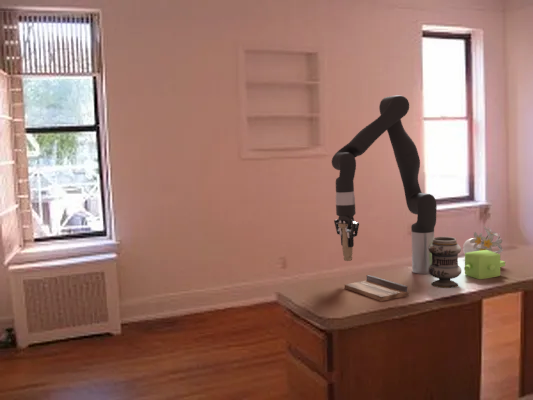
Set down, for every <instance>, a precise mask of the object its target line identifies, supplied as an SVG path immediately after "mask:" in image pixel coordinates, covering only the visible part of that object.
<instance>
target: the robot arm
mask: <svg viewBox="0 0 533 400" xmlns="http://www.w3.org/2000/svg"><path fill="white" fill-rule="evenodd" d="M378 109H379V113H380V115H379V116H378V117H377V118H376V119H374V121H373V120H372V122H371V123H369V124H368V125H366V126H365V127H363V128H362V129H361V130H360V131H359V132H358V133H356V135H355V136H354V137H353V138H351V140H350V141H349V142H348V143H347V144H345V145H344V146H343V147H341V148H340V149H338V150H337V152H335V153H334V155H333V156H332V159H331V165H332V168H334V169H335V170H337V171H339V176H338V177H337V178H335V211H336V212H335V213H336V216H337V217H338V219H334V220H333V222H334V226H335V227H334V228H335V231H336V234H337V235H338V236H340V244H341V246H342V239H343V231H342V228H340V227H339V226H338V223H343V224H345V225H346V224H348V227H347V225H346V228H345V231H346V232H347V236H348V247H352V248H353V247H354V244H355V241H354V238H356V237H358V233H359V227H360V223H359V221H357V222H356V221H355V218H354V216H355V215H356V197H355V196H356V195H355V188H354V186H355V185H354V183H355V182H354V180H355V175H356V170H357V160H356V158H357V157H360V156H362V155H363V154H365V153H366V151H367V150H368V149H370V147H371V146H372V145H373V144H374V143H375V142H376V141H377V140H378V139H379V138H380V137H381V136H383V134H384V133H385V132H386V131H387V133H388V137H389V138H388V139H389V141H390V143H391V147H392V151H393V154H394V158H395V162H396V165H397V168H398V170H399V171H398V172H399V174H400V179H401V182H402V186H403V190H404V195H405V196H404V197H405V201H406V206H407V208H408V211H409V212H410V213H411V214H414V215H417V219H416V222H415V223H412V225H411V226H410V228H411V229H410V231H411V235H410V237H411V265H412V266H411V268H412V269H411V271H412V273H414V274H420V275H428V274H430V273H429V272H428V268H429V266H430V265H431V264H432V253H430V252H429V249H428V248H429V246H430V245H431V244H432V242H433V238H435V227H436V223H437V211H438V210H437V207H438V206H437V200H436V198H435V196H434V195H433V194H430V193H427V192H426V193H424V192H422V190H421V186H420V183H419V173H420V166H421V159H420V155H419V152H418V149H417V146H416V144H415V142H414V141H413V139H412V138H411V137H410V135H409V134H408V132H406V130H405V129H404V126H403V123H402V119H403V118H404V117H405V116H406V115H407V113H408V112H409V110H410V102H409V99H408V98H406V97H405V96H404V95H399V94H398V95H390V96H386V97H384V98H382V99H381V101H380V102H379V108H378ZM348 229H351V230H348ZM350 232H351V233H350Z"/></svg>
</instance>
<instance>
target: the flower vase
mask: <svg viewBox="0 0 533 400" xmlns="http://www.w3.org/2000/svg"><path fill="white" fill-rule="evenodd" d="M482 227H483V228H484V230H485V232H486V234H487V236H486V237H485V236H483V233H482V232H481V233H479V234H478V233H477V232H476V231H474V232H473V237H474V238H473V237H470V238H468V239H466V240H465V241H464V243H463V245H462V251H463V254H465V253H468V252H474V251H481V250H488V251H492V252H495V253H497V254H501V253H502V252H504V249H503V246H502V245H501V244H502V243H503V239H502V238H501V233H498V232H495V231H492V228H491V227H489V226H487V227H486V226H485V225H482ZM494 236H496V237H497V238H496V239H495V241H493V240H494ZM496 247H497V248H498V250H496V251H493V248H496Z"/></svg>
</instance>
